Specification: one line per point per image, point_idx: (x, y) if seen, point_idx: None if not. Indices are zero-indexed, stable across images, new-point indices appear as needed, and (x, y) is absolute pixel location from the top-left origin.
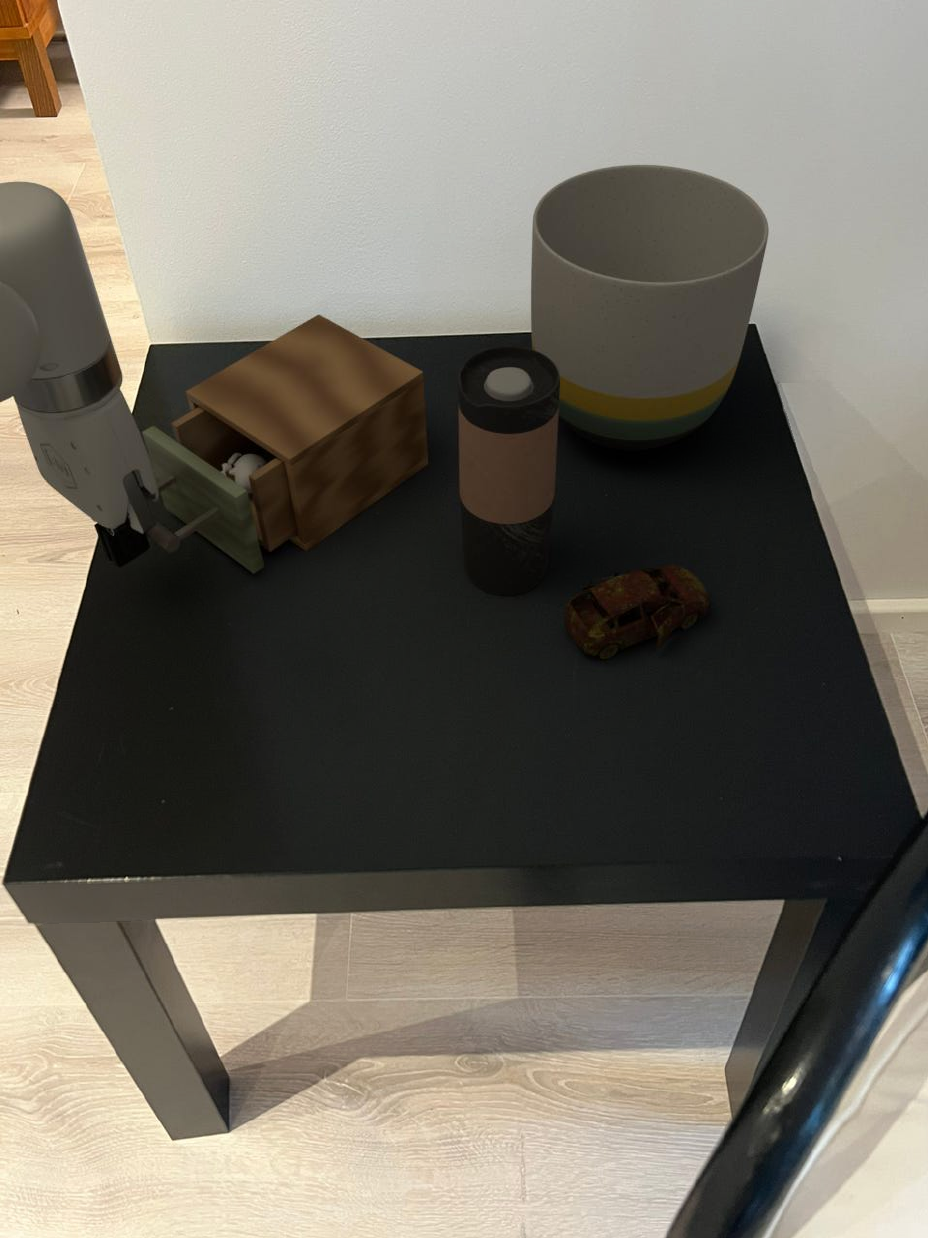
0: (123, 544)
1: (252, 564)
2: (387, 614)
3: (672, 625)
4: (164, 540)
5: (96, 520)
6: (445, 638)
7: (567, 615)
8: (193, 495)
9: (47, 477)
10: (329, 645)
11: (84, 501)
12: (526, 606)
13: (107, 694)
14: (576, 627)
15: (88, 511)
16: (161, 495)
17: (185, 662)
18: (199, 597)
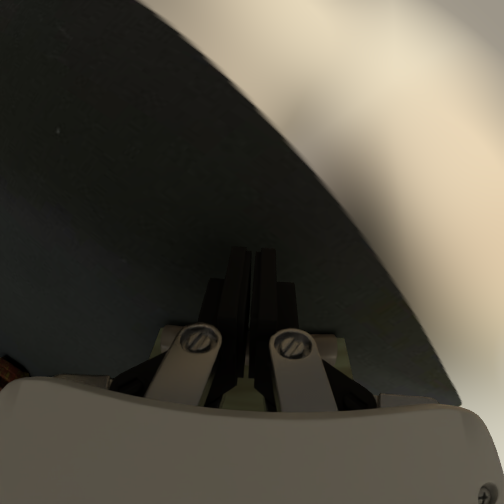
0: (202, 305)
1: (156, 339)
2: (66, 339)
3: (5, 382)
4: (169, 345)
5: (61, 394)
6: (34, 338)
7: (12, 376)
8: (254, 401)
9: (434, 451)
10: (53, 295)
11: (73, 479)
12: (44, 373)
13: (126, 73)
14: (4, 371)
15: (87, 427)
16: (347, 355)
17: (102, 185)
18: (187, 267)
